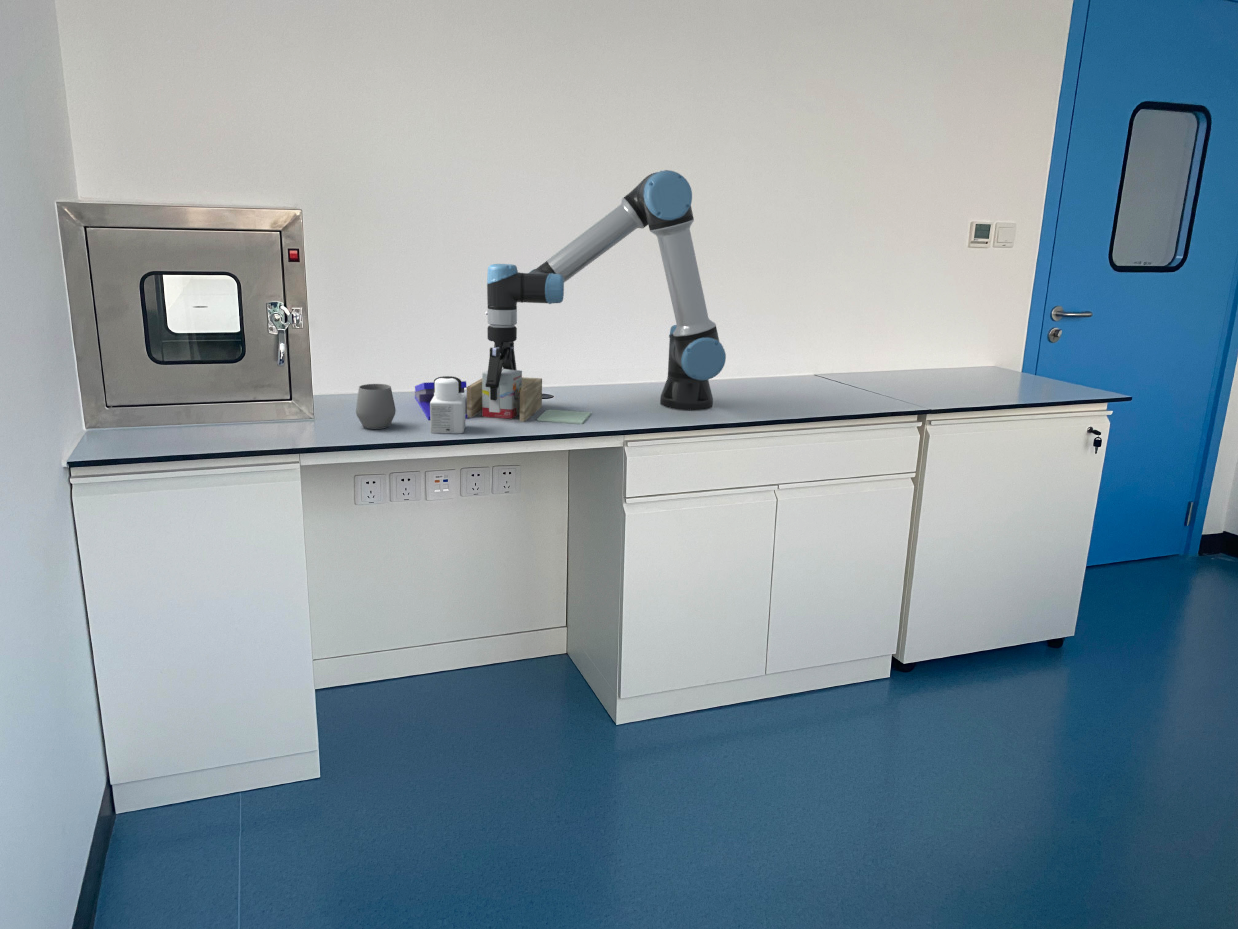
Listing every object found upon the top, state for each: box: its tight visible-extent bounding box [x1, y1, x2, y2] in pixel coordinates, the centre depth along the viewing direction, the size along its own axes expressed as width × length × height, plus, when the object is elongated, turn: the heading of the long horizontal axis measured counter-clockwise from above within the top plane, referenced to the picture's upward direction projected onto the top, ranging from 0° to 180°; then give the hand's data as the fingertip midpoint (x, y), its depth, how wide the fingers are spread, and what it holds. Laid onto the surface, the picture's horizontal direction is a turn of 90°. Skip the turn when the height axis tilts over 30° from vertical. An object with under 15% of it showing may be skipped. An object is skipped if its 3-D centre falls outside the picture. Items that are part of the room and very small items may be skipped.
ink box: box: [481, 368, 523, 420], centre depth 231 cm, size 9×9×12 cm
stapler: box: [414, 380, 468, 421], centre depth 237 cm, size 12×28×10 cm, turn 20°
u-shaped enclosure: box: [466, 376, 543, 422], centre depth 235 cm, size 15×18×8 cm
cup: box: [355, 383, 397, 430], centre depth 214 cm, size 10×9×10 cm
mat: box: [536, 409, 592, 425], centre depth 232 cm, size 12×12×1 cm
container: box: [429, 375, 467, 434], centre depth 214 cm, size 8×8×13 cm
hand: (502, 406), depth 232 cm, fingers open, 12 cm apart
